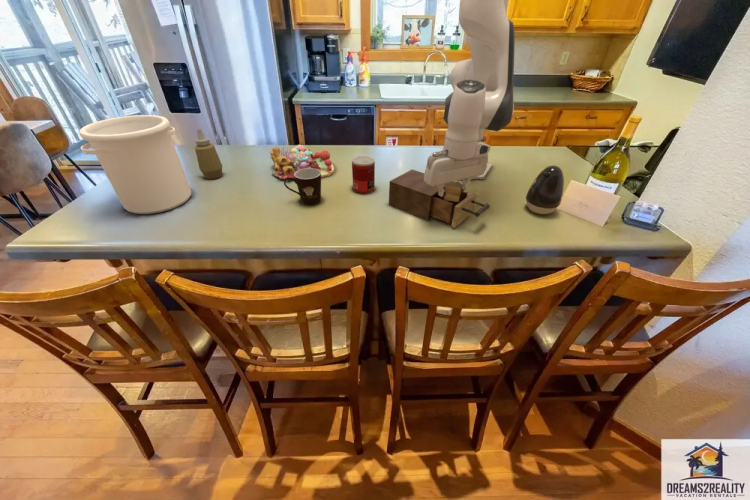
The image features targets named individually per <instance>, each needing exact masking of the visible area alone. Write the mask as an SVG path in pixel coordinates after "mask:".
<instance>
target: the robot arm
mask: <svg viewBox="0 0 750 500" xmlns="http://www.w3.org/2000/svg"><path fill="white" fill-rule="evenodd" d="M458 7H459V8H458V22H459V25H460V27H461V30H462V31H463V32H464V33H465V35H466V37H465V38H466V43H467V45H468V47H469V50H470V56H471V58H467V59H463V60H460V61H458V62H457V63H455V64H454V65H453V67H452V69H451V71H450V74H449V82H450V85H451V87H452V89H453V91H452V92H451V93H450V94H448V95H447V97H446V98H445V101H444V113H443V117H442V119H443V121H444V122H445V124H446V125H447V129H446V132H445V134H444V140H443V148H442V150H440V151H434V152H432V153H431V154H430V155H429V156H428V157H427V160H426V161H427V162H426V165H425V169H424V172H423V173H424V181H425V183H426V184H428V185H429V186H431V187H432V186H437V187H438V190H439V192H438V195H439V196H440V197H443V196H445V195H446V190H444V189H443V187H444V186H445V183H450V182H459V181H461V192H462V191H464V192H466V189H467V186H468V185H469V183H470V182H471V180H484V179H485V177H486V176H487V174H488V173H489V172H490V170H491V169H492V163H490V162H488V161H489V153H490V151H491V145H490V144H488V143H485V142H487V140H488V136H486V135H485V130H486V131H491V132H500V131H502V130H503V129H504V128H506V127H507V126H509V125H510V123H511V122H512V119H513V116H514V112H515V103H514V102H515V100H514V79H515V78H514V73H515V47H516V46H515V45H516V44H515V43H516V42H515V41H516V40H515V39H516V37H515V36H516V35H515V34H516V33H515V26H514V25H515V24H514V22H513V21H512V20H510V19H509V17H508V15H507V13H508V7H509V0H459V5H458Z"/></svg>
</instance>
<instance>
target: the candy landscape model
mask: <svg viewBox="0 0 750 500" xmlns="http://www.w3.org/2000/svg"><path fill="white" fill-rule="evenodd" d="M288 151H289V152H288ZM269 153H270V159H271V160H272V162H273V165H271V167H272V168H273V170H272V172H271V174H272V175H273V176H274V177H277V178H279V180H285V179H286V178H294V179H295V176H294V173H295V172H296V171H298V170H301V169H305V168H314V169H318V170H320V171H321V178H325V177H329V176H331V175H333V174H334V172H335V166H334V164H333V161H332V160H331V153H330V152H329V151H328V150H326V149H323V150H321V151H315V152H313V151H311V149H310V148H308V147H306V146H305V145H304V144H302V145H301V144H297V145H296V146H293V147H291V146H290V147H289V150H288V148H286V150H285V148H284V147H282V148H280V147H278V146H273V148H271V149H270V151H269ZM313 153H314V154H313ZM289 181H290V179H289V180H287V181H286V182H289Z"/></svg>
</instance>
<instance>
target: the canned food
mask: <svg viewBox="0 0 750 500" xmlns="http://www.w3.org/2000/svg"><path fill="white" fill-rule="evenodd" d="M375 163H376V162H375V159H374V158H373V157H371V156H365V155H364V156H363V155H360V156H356V157H353V158H352V159H351V174H352V175H351V176H352V189H353V191H354V192H355V193H357V194H363V195H365V194H370V193H372V192H374V190H375V184H376V183H375V179H376V177H375V175H376V174H375V173H376V172H375V171H376V167H375Z"/></svg>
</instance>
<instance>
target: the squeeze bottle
mask: <svg viewBox="0 0 750 500" xmlns="http://www.w3.org/2000/svg"><path fill="white" fill-rule="evenodd" d="M196 131H197V133H196V134H197V138H195V141H194V142H195V144H196V146H195V147H194V150H195V155H196V160H197V163H198V168H199V170H200V172H201V173H202V175H203V177H205V178H206V179H207V180H208V179H210V180H214V179H219V178H220V177H222V175H223V164H222V161H221V159H220V157H219V154H218V152H217V149H216V147H215V145H214V143H212V142H211V141H210V138H209V137H206V136H205V134H204V132H203V131H202V129H201V128H196Z"/></svg>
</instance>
